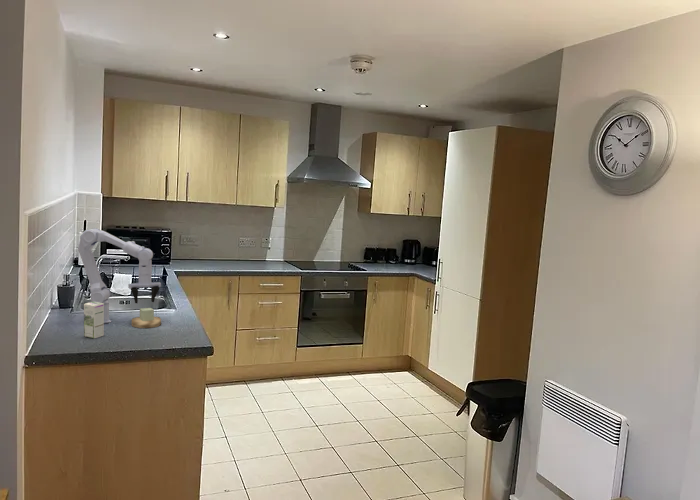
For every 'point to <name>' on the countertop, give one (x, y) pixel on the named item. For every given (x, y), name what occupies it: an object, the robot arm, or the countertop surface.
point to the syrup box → (93, 319)
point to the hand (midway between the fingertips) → (144, 302)
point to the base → (146, 323)
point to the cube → (146, 314)
